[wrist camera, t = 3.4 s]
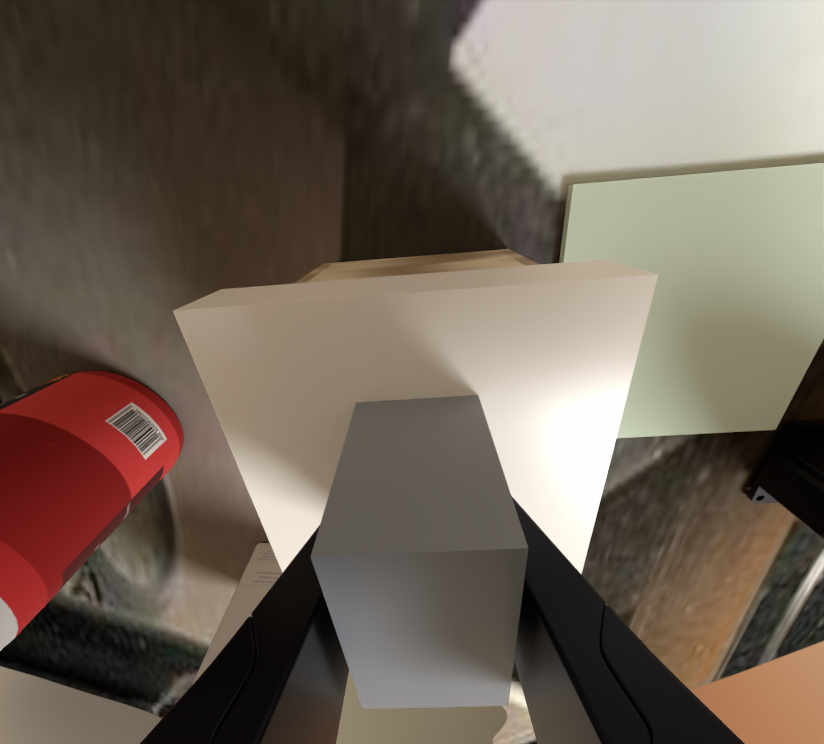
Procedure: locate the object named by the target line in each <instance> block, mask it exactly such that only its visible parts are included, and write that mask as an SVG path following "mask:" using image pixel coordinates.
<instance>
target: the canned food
mask: <svg viewBox="0 0 824 744" xmlns="http://www.w3.org/2000/svg"><path fill="white" fill-rule="evenodd" d="M183 441H184V437H183V430H182V427H181V424H180V422H179V420H178V418H177V417H176V415H175V413H174V412H173V411H172V409H171V408H170V407H169V406H168V405H167V403H166V402H165V401H163V400H162V399H161V398H160V397H159V396H158V395H157V394H155V393H154V392H153V391H151V390H150V389H148V388H147V387H145V386H144V385H142V384H140V383H138V382H136V381H134V380H132V379H129V378H127V377H124V376H121V375H119V374H114V373H110V372H106V371H93V370H92V371H83V372H77V373H71V374H66V375H62V376H59V377H57V378H54V379H52V380H50V381H48V382H45V383H43V384H41V385H39V386H37V387H35V388H33V389H31V390H29V391H27V392H25V393H22V394H20V395H18V396H16V397H14V398H12V399H10V400H8V401H6V402H4V403H2V404H0V651H1V650H2V649H3V647H5V646H6V645H7V644H8V643H10V642H11V641H12V640H13V639H14V638H15V637H16V636H17V635H18V634H19V633H20V632H21V631H22V630H23V628H24V627H25V626H26V625H27V624H28V623H29V622H30V621H31V620H32V619H33V618H34V617H35V615H36V614H37V613H38V612H39V611H40V610H42V609H43V608H44V607H45V605H46V604H47V603H48V602H49V601H50V600H51V599H52V598H53V597H54V596H55V595H56V593H57V592H58V591H59V590H60V589H61V588H62V587H63V586H64V585H65V584H66V582H67V581H68V580H69V579H70V578H71V577H72V576H73V575H74V574H75V573H76V572H77V570H78V569H79V568H80V567H81V566H82V565H83V564H84V563H85V562H86V561H87V559H88V558H89V557H90V556H91V555H92V554H93V553H94V552H95V551H96V550H97V549H98V547H99V546H100V545H101V544H102V543H103V542H104V541H105V540H106V539H107V538H108V537H109V535H110V534H111V533H112V532H113V531H114V530H115V529H116V528H117V527H118V526H119V524H120V523H121V522H122V521H123V520H124V519H125V518H126V517H127V516H128V515H129V514H130V512H131V511H132V510H133V509H134V508H135V507H136V506H137V505H138V504H139V503H140V502H141V500H142V499H143V498H144V497H145V496H146V495H147V494H148V493H149V492H150V491H151V489H152V488H153V487H154V486H155V485H156V484H157V483H158V482H159V481H160V480H161V479H162V477H163V476H164V475H165V474H166V473H167V472H168V471H169V470H170V469H171V468H172V466H173V465H174V464H175V462H176V461H177V459H178V457H179V454H180V452H181V449H182V447H183Z"/></svg>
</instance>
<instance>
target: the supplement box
mask: <svg viewBox="0 0 824 744" xmlns="http://www.w3.org/2000/svg"><path fill="white" fill-rule="evenodd" d="M281 574H282V570H281V568H280V566H279V563H278V561H277V559H276V556H275V554H274V551H273V549H272V547H271V544H270V543H259V544H257V545H256V547H255V549H254V552H253V554H252V556H251V558H250V560H249V562H248V564H247V567H246V569H245V571H244V573H243V575H242V577H241V580H240V582H239V584H238V586H237V588H236V591H235V593H234V595H233V597H232V599H231V601H230V604H229V606H228V608H227V610H226V612H225V614H224V617H223V619H222V621H221V623H220V625H219V627H218V630H217V632H216V634H215V636H214V638H213V640H212V643H211V645H210V647H209V649H208V651H207V654H206V656H205V658H204V660H203V662H202V665H201V667H200V669H199V671H198V673H197V675H196V678H195V680H194V682H193V684H194V683H195V681H196V680H197V679H198V678H199V677H200V676H201V675H202V673H203V672H204V671H205V670H206V669H207V668H208V666H209V665H210V664H211V663H212V662H213V661H214V659H215V658H216V657H217V656H218V654H219V653H220V652H221V651H222V649H223V648H224V647H225V646H226V644H227V643H228V642H229V641H230V639H231V638H232V637H233V636H234V635H235V633H236V632H237V631H238V629H239V628H240V627H241V626H242V624H243V623H244V622H245V620H246V619H247V618H248V617H249V616H251V617H252V615H251V614H252V612H253V610H254V609H255V608H256V606H257V605H258V604H259V603H260V601H261V600H262V599H263V597H264V596H265V595H266V594H267V592H268V591H269V590H270V588H271V587H272V586H273V584H274V583H275V582H276V581H277V579H278V578H279V577H280V575H281ZM193 684H192V685H193Z"/></svg>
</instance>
